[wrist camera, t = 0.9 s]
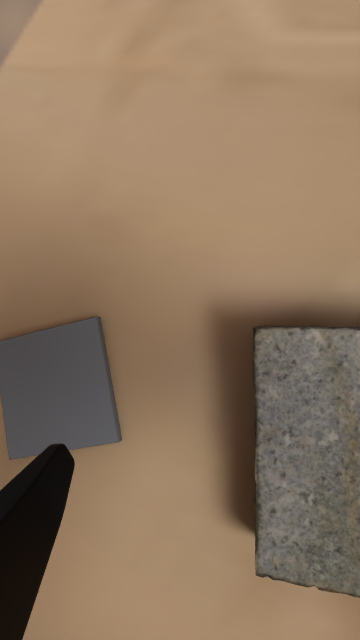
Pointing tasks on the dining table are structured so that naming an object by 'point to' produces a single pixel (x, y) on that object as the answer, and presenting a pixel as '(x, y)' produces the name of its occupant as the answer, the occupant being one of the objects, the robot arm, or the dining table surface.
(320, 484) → the stone block
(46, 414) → the slate mat
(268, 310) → the dining table surface
